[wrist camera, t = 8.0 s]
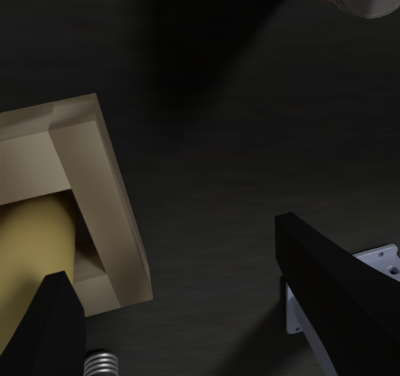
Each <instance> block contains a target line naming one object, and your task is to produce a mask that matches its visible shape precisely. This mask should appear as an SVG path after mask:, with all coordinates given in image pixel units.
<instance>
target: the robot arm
mask: <svg viewBox="0 0 400 376" xmlns="http://www.w3.org/2000/svg"><path fill="white" fill-rule="evenodd" d="M275 246H276V260H277V262H278V264H279V267H280V269H281V271H282V274H283V276H284V278H285V280H286V330H287V332H288V333H289V334H293V333H297V332H300V331H303V332H304V334H305V336H306V338H307V340H308V342H309V344H310V346H311V348H312V350H313V352H314V354H315V356H316V357H317V359H318V361H319V363H320V365H321V367H322V369H323V371H324V373H325V375H326V376H400V259H399V257H398V256H397V255H396V254H397V247H396V246H395V245H394V244H389V245H386V246H382V247H379V248H375V249H371V250H368V251H364V252H360V253H357V254H353V255H352V254H350V253H348V252H347V251H345V250H344V249H342V248H341V247H339V246H338V245H336V244H335V243H334V242H332V241H331V240H329V239H328V238H326V237H325V236H323V235H322V234H321V233H319V232H318V231H317V230H315V229H314V228H313V227H311V226H310V225H309V224H307V223H306V222H305V221H303V220H302V219H301V218H299V217H298V216H296V215H295V214H294V213H292V212H290V213H286V214H282V215H278V216H275ZM85 348H86V327H85V311H84V308H83V306H82V304H81V302H80V300H79V298H78V296H77V294H76V292H75V290H74V288H73V286H72V284H71V282H70V280H69V278H68V276H67V274H66V272H65V270H64V271H60V272H56V273H52V274H48V275H45V277H44V278H43V280H42V282H41V284H40V286H39V288H38V290H37V292H36V294H35V296H34V298H33V299H32V301H31V303H30V305H29V307H28V309H27V311H26V313H25V314H24V316H23V318H22V320H21V322H20V323H19V325H18V327H17V329H16V330H15V332H14V334H13V336H12V337H11V339H10V341H9V343H8V344H7V346H6V347H5V349H4V351H3V352H2V354H1V355H0V376H84V363H85Z"/></svg>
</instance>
